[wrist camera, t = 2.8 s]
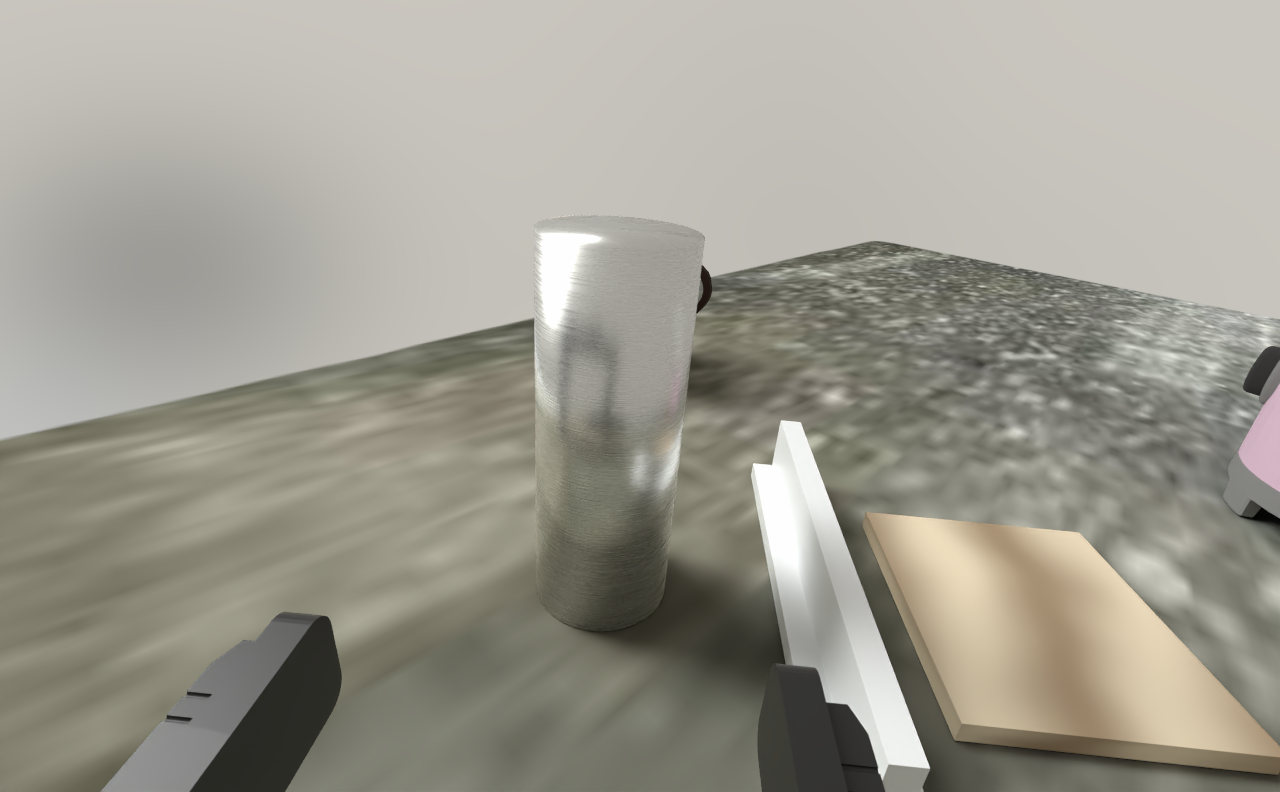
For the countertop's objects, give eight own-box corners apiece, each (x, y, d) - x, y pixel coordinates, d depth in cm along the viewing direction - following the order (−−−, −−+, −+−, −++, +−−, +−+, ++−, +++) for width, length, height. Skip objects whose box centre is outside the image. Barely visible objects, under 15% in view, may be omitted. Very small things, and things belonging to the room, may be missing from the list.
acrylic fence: (818, 843, 16) (847, 759, 15) (751, 476, 32) (761, 418, 31) (931, 855, 16) (972, 772, 15) (807, 481, 32) (820, 424, 31)
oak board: (954, 740, 19) (962, 723, 19) (861, 525, 29) (865, 512, 29) (1277, 775, 19) (1290, 758, 18) (1072, 545, 29) (1079, 532, 28)
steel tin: (522, 623, 22) (514, 239, 16) (550, 534, 27) (552, 210, 21) (662, 638, 22) (707, 256, 16) (666, 545, 27) (702, 223, 21)
